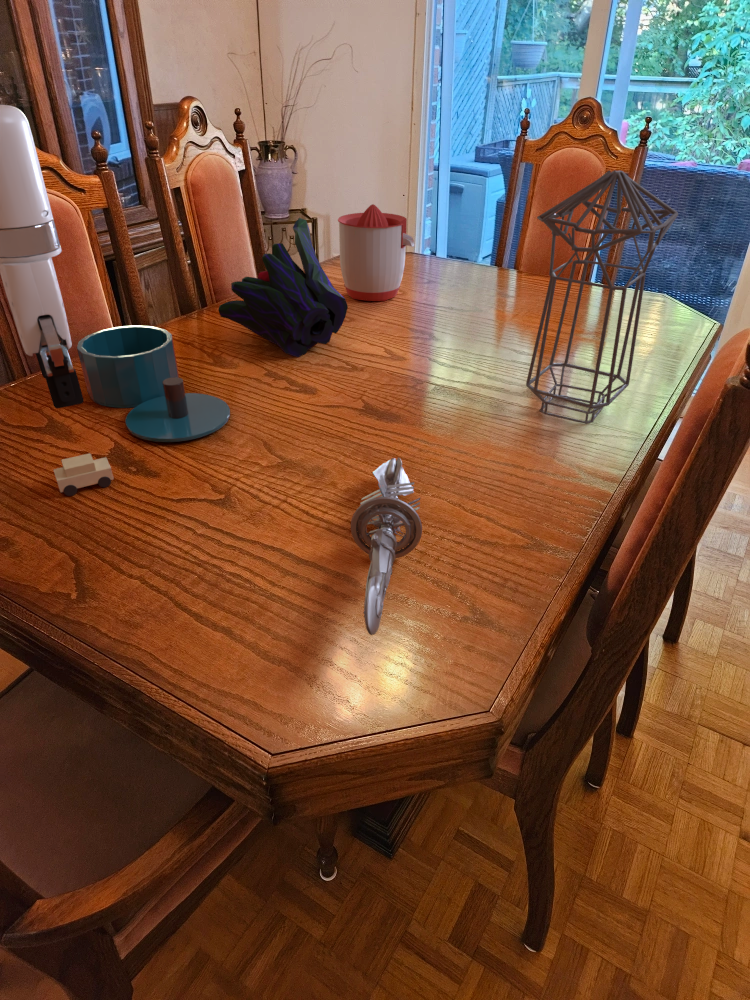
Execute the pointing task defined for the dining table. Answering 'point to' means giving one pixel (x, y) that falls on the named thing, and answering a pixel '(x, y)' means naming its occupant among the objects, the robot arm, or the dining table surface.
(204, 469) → the dining table surface
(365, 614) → the spaceship
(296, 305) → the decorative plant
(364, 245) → the citrus juicer
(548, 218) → the geometric lantern
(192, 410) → the pot lid
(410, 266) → the dining table surface
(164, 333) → the pot
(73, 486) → the toy car
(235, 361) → the dining table surface
